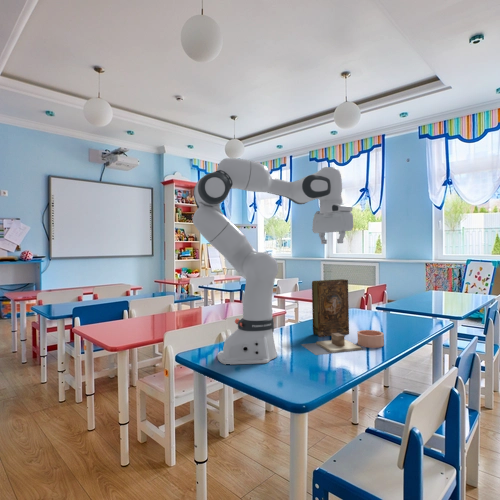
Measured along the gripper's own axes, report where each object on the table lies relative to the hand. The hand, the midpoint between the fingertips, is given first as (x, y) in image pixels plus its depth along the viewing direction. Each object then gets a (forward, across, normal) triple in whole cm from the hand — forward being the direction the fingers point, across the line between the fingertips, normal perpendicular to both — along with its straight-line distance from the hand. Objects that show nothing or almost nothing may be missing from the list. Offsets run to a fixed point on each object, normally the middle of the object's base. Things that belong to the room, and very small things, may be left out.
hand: (331, 243), depth 138 cm
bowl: (+42, +5, +15) cm, 45 cm away
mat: (+42, -1, -1) cm, 42 cm away
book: (+42, -16, +13) cm, 47 cm away
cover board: (+41, 0, +2) cm, 41 cm away
